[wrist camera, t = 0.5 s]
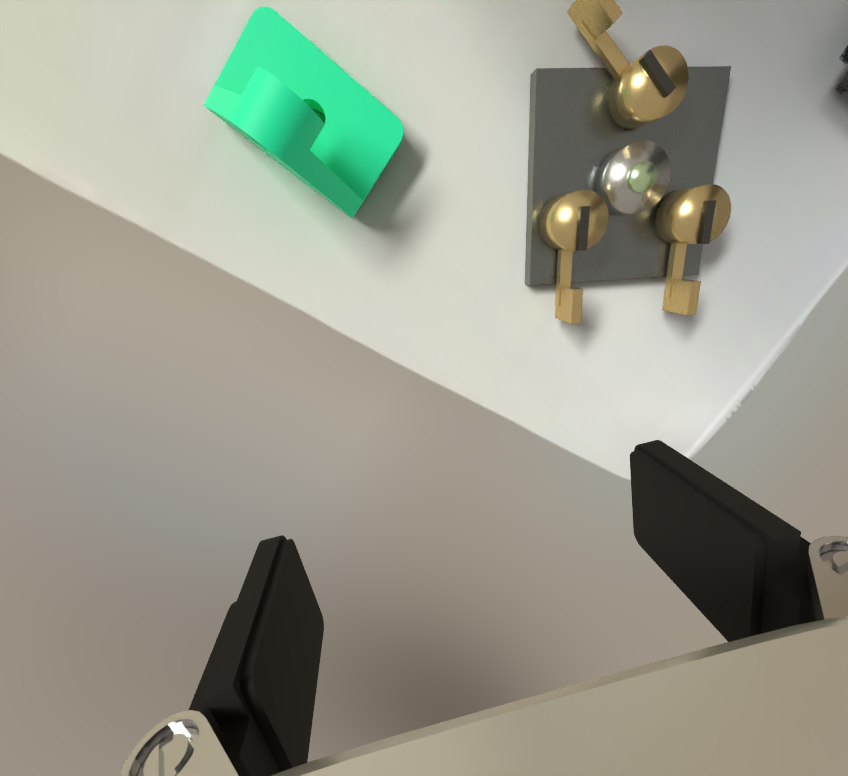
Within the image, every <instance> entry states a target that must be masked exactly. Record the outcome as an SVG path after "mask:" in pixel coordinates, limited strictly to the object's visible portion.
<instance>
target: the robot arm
mask: <svg viewBox="0 0 848 776" xmlns="http://www.w3.org/2000/svg"><path fill="white" fill-rule="evenodd" d="M630 469H631V487H632V507H633V526H634V535H635V538H636V540H637V541H638V544H639V545H640V546H641V547H642V548H643V549H644V550H645V551H646V553H647V554H648V555H649V556H650V557H651V558H652V559H653V560H654V561H655V562H656V564H657V565H658V566H659V567H660V568H661V569H662V570H663V571H664V572H665V573H666V574H667V576H668V577H669V578H670V579H671V580H673V582H674V583H675V584H676V585H677V586H678V587H679V589H680V590H681V591H682V592H683V593H684V594H685V595H686V596H687V597H688V598H689V599H690V600H691V602H692V603H693V604H694V605H695V606H696V607H697V608H698V609H699V610H700V611H701V612H702V614H703V615H704V616H705V617H706V618H707V619H708V620H709V621H710V622H711V623H712V624H713V625H714V627H715V628H716V629H717V630H718V631H719V632H720V633H721V634H722V635H723V636H724V637H725V639H726V640H727V641H728V642H727V643H724V644H720V645H716V646H713V647H709V648H705V649H702V650H698V651H694V652H691V653H687V654H683V655H680V656H676V657H672V658H669V659H665V660H662V661H658V662H654V663H651V664H647V665H644V666H640V667H636V668H633V669H629V670H625V671H622V672H618V673H614V674H611V675H607V676H604V677H600V678H597V679H593V680H589V681H586V682H582V683H579V684H575V685H572V686H568V687H564V688H561V689H557V690H554V691H551V692H547V693H543V694H540V695H536V696H533V697H529V698H526V699H522V700H518V701H515V702H511V703H508V704H504V705H501V706H497V707H494V708H490V709H487V710H483V711H480V712H476V713H473V714H469V715H466V716H463V717H459V718H455V719H452V720H449V721H446V722H442V723H438V724H435V725H431V726H428V727H424V728H421V729H417V730H414V731H410V732H407V733H403V734H400V735H397V736H393V737H390V738H386V739H383V740H380V741H376V742H373V743H369V744H366V745H363V746H360V747H356V748H353V749H350V750H347V751H343V752H340V753H337V754H334V755H331V756H327V757H324V758H321V759H318V760H315V761H311V762H308V763H307V759H308V751H309V743H310V735H311V727H312V719H313V711H314V703H315V695H316V687H317V679H318V671H319V663H320V655H321V647H322V639H323V630H324V623H323V617H322V614H321V611H320V608H319V605H318V603H317V600H316V598H315V595H314V592H313V590H312V587H311V585H310V582H309V579H308V577H307V574H306V572H305V570H304V567H303V564H302V561H301V559H300V556H299V553H298V551H297V549H296V546H295V543H294V541H293V540H292V539H289V540H287V539H286V538H285V537H284V536H278V537H274V538H270V539H266V540H263V541H261V542H260V543H259V545H258V547H257V550H256V553H255V555H254V558H253V560H252V563H251V566H250V568H249V571H248V573H247V576H246V579H245V581H244V584H243V586H242V589H241V592H240V594H239V597H238V599H237V601H236V602H234V603H233V604H232V605H231V606H230V608H229V611H228V613H227V615H226V618H225V620H224V623H223V625H222V628H221V630H220V633H219V635H218V638H217V640H216V643H215V645H214V648H213V650H212V653H211V655H210V658H209V660H208V663H207V665H206V668H205V670H204V673H203V675H202V678H201V680H200V683H199V685H198V688H197V690H196V693H195V695H194V698H193V700H192V703H191V705H190V708H189V710H188V711H184V712H179V713H177V714H174V715H173V716H170V717H168V718H166V719H165V720H164V721H162V722H161V723H159V724H158V725H156V726H155V727H154V728H153V729H152V730H151V731H150V732H149V733H148V734H147V735H146V736H144V737H143V738H142V740H140V742H139V743H138V744H137V746H136V747H135V748H134V749H133V751H132V752H131V754H130V755H129V757H128V759H127V761H126V762H125V764H124V766H123V768H122V771H121V774H120V776H848V537H840V536H830V537H822V538H819V539H817V540H814V541H813V542H812V543H809V542H808V541H806V540H805V539H803V538H802V537H800V535H801V532H800V531H799V530H797V529H796V528H794V527H793V526H791V525H790V524H788V523H787V522H785V521H783V520H782V519H780V518H779V517H777V516H776V515H774V514H773V513H771V512H769V511H768V510H767V509H765V508H763V507H762V506H760V505H759V504H757V503H756V502H754V501H753V500H751V499H749V498H748V497H746V496H745V495H743V494H742V493H740V492H739V491H737V490H736V489H734V488H733V487H731V486H730V485H728V484H726V483H725V482H723V481H722V480H720V479H719V478H717V477H715V476H714V475H713V474H711V473H710V472H708V471H706V470H705V469H703V468H702V467H700V466H698V465H697V464H695V463H693V461H691V460H689V459H688V458H686V457H685V456H683V455H682V454H680V453H679V452H677V451H676V450H674V449H673V448H671V447H669V446H668V445H666V444H665V443H663V442H662V441H659V440H655V441H651V442H647V443H643V444H639V445H637V446H636V447H635V450H634V452H631V454H630Z"/></svg>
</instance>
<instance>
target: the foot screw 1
mask: <svg viewBox="0 0 848 776" xmlns="http://www.w3.org/2000/svg"><path fill="white" fill-rule="evenodd" d="M608 217H609V215H608V208H607V205H606V203H605V201H604V200H603V198H602V197H601V196H600V195H599V194H597V193H596V192H594V191H591V190H579V191H575V192H571V193H567V194H564V195H560V196H558V197H555V198H554V199H552V200H551V201H550V202H549V203H548V204H547V205H546V206H545V208H544V210H543V212H542V214H541V217H540V224H539V225H540V233H541V236H542V238H543V240H544V241H545V243H546V244H547V245H548V246H550V247H551V248H553V249H556V250H558V260H557V279H556V298H555V305H556V310H555V318H557V319H559V320H562V321H564V322H567V323H570V324H578V323H580V321H581V307H582V293H583V289H580V288H575V287H571V272H572V256H573V251H585V250H587V249H588V248H590V247H592V246H594V245H595V244H596V243H597V242H598V241H599V240H600V239H601V238H602V236H603V235H604V233H605V231H606V228H607V225H608Z"/></svg>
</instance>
